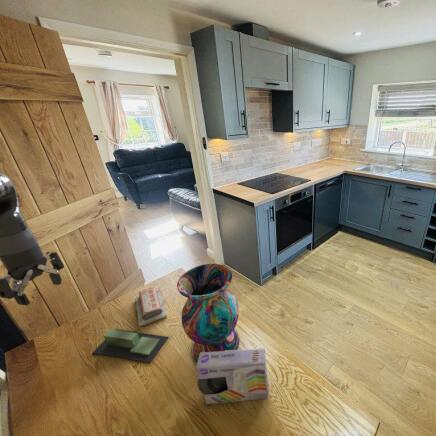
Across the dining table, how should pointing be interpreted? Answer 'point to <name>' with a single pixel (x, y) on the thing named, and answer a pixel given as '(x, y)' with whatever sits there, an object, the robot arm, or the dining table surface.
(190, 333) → the vase
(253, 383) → the cake pan box
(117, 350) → the mat
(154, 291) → the packaged product
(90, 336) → the dining table surface
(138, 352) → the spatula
